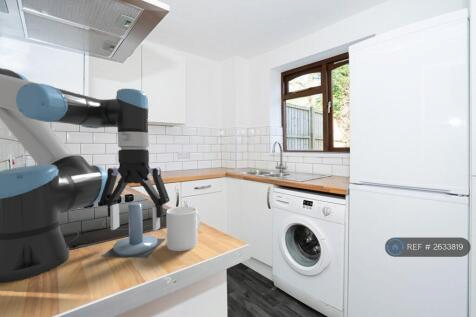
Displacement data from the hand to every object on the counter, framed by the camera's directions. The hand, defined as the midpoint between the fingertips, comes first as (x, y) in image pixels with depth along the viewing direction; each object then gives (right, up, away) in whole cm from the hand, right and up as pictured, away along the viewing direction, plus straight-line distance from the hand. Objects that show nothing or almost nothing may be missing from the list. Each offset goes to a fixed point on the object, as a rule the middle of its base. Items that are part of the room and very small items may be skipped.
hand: (135, 228), depth 63 cm
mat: (0, -6, 0) cm, 6 cm away
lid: (0, -5, 0) cm, 5 cm away
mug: (+13, -6, +3) cm, 15 cm away
